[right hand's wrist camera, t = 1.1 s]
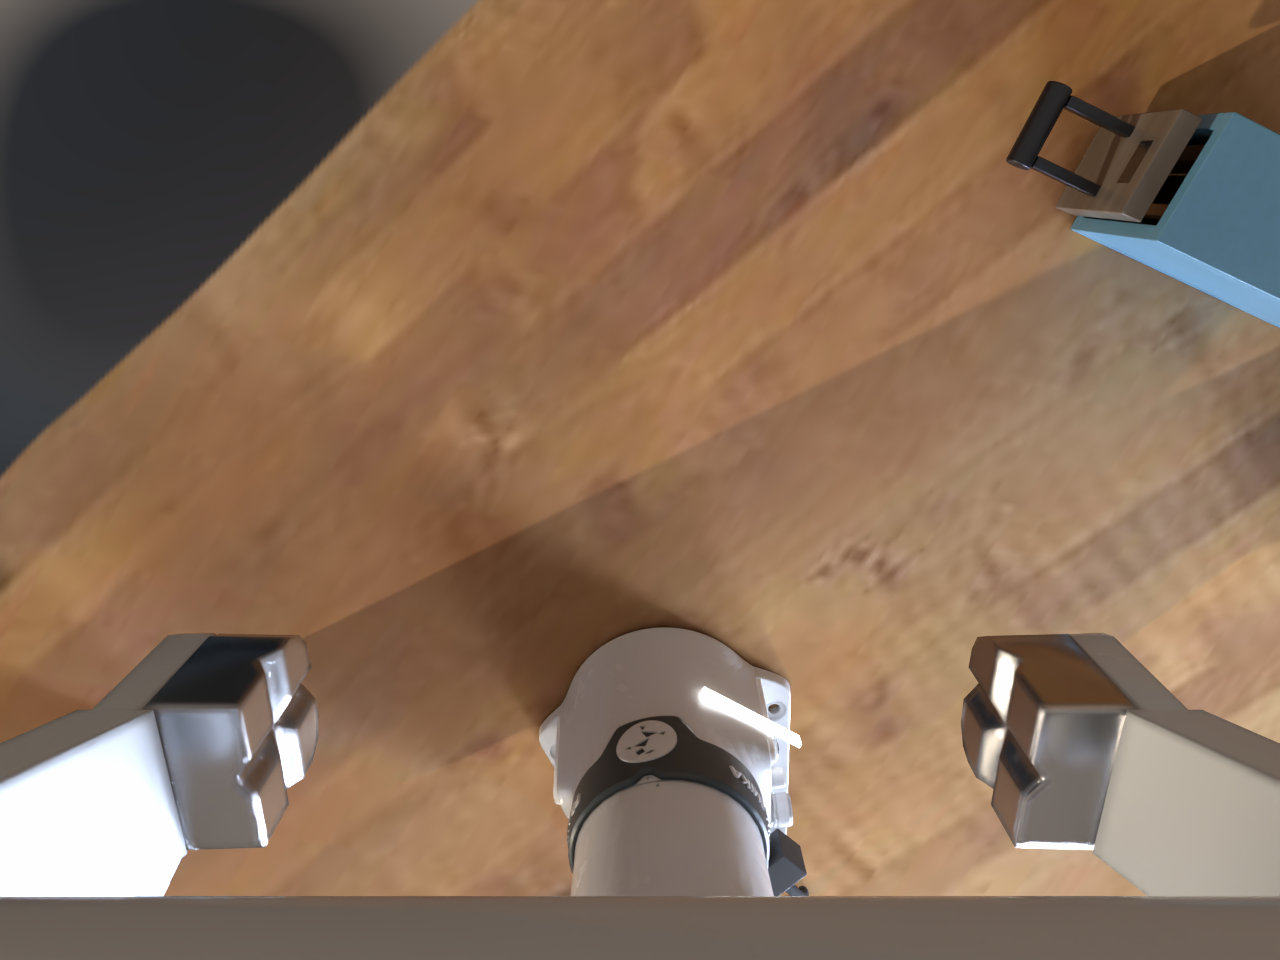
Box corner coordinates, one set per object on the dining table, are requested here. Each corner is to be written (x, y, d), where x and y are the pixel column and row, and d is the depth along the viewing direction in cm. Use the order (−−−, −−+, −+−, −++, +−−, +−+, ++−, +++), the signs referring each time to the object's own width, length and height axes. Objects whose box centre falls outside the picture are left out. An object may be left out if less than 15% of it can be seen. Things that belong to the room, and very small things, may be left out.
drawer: (976, 169, 49) (1031, 170, 42) (1024, 77, 47) (1090, 61, 40) (1259, 304, 51) (1355, 325, 44) (1315, 221, 50) (1423, 229, 43)
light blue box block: (1069, 228, 51) (1155, 240, 42) (1131, 121, 48) (1234, 111, 40) (1283, 330, 53) (1407, 360, 44) (1351, 230, 51) (1495, 243, 42)
